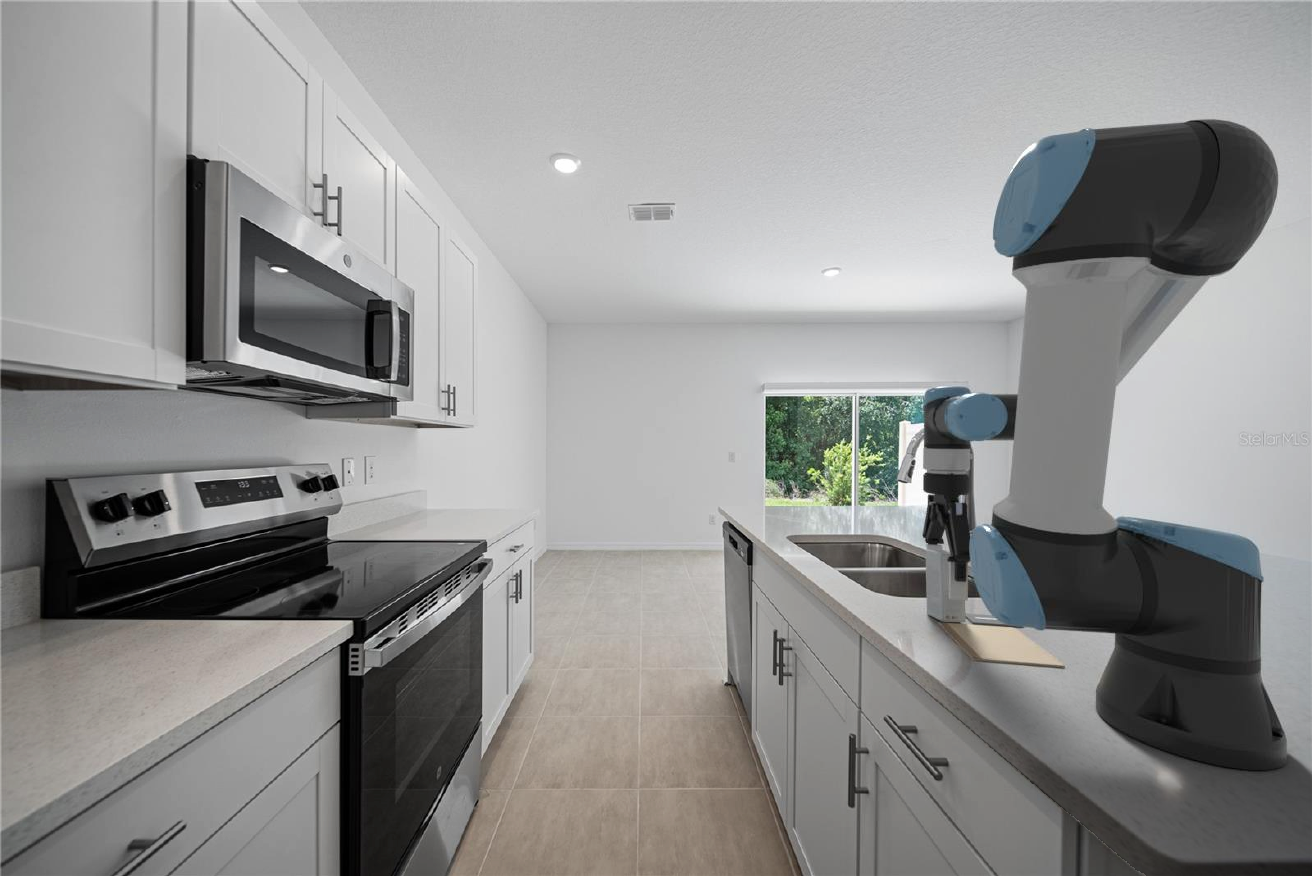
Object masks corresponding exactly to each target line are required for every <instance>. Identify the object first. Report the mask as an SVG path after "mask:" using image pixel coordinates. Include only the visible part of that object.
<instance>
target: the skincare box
mask: <svg viewBox="0 0 1312 876" xmlns="http://www.w3.org/2000/svg"><path fill="white" fill-rule="evenodd" d="M924 552H925V583H926V584H925V585H926V586H925V590H926V614H927V615H928V616H930V617H933V618H934V619H937V620H938V621H939V622H946V623H966V621H967V620H966V619H967V618H966V614H967V613H966V600H952V599H949V562H948V561H947V559H948V557H949V556H951V554H950V550H946V549H942V550H926V549H925V551H924Z"/></svg>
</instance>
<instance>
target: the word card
mask: <svg viewBox="0 0 1312 876" xmlns="http://www.w3.org/2000/svg"><path fill="white" fill-rule="evenodd" d="M966 619H967V620H968V621H969V622H970V623H971V624H972V625H984V626H998V627H1012V628H1021V627H1020V626H1011V625H1007V624H1004V623H1002V622H1000V621H999V620H997V619H996V618H995V617H994V616H993V615H992V614H980V613H966Z"/></svg>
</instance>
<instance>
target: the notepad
mask: <svg viewBox="0 0 1312 876" xmlns="http://www.w3.org/2000/svg"><path fill="white" fill-rule="evenodd" d="M938 624H939V626H940V625H941V626H942V627H941V626H940V627H941V628H942V629H943V630H944V629H945V630H944V631H945V632H946V633H947V634H948V635H949V636H950V638H952V640H953V639H954V642H955V643H956V644H957V645H958V646H959V647H960V648H961V649H962V650H963V652H964V653H965V654H966V655H967V656H968V657H969V658H970V659H971V660H972V661H980V662H981V661H983V662H990V663H1005V664H1015V665H1016V664H1017V665H1028V666H1038V667H1039V666H1040V667H1041V666H1043V667H1051V668H1066V665H1065V664H1064V663H1062V662H1060V661H1059V660H1058V659H1057V658H1055V657H1054V656H1053V655H1051V654H1050V653H1048V652H1047V651H1046V650H1045V649H1043V648H1042V647H1041V646H1039V645H1038V644H1037V643H1035V642H1034V641H1033V640H1032V639H1030V638H1029V637H1028V636H1026V635H1025V634H1024V633H1022V632H1021V631H1020V630H1019V629H1017V627H1010V626H996V625H982V624H967V623H957V622H942V621H939V622H938Z"/></svg>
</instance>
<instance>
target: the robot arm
mask: <svg viewBox="0 0 1312 876" xmlns="http://www.w3.org/2000/svg"><path fill="white" fill-rule="evenodd" d="M1278 186H1279V171H1278V165H1277V162H1276V159H1275V156H1274V153H1273V151H1272V149H1271V148H1270V146H1269V145H1268V144H1267V142H1266V141H1265V140H1264V139H1263V137H1262V136H1260V135H1259V134H1258V133H1257V132H1255V131H1254V130H1252V129H1250V128H1249V127H1246V125H1243V124H1239V123H1236V122H1233V121H1231V120H1224V119H1223V120H1222V119H1217V118H1216V119H1215V118H1211V119H1209V118H1208V119H1207V118H1206V119H1205V118H1204V119H1201V118H1200V119H1193V120H1187V121H1185V122H1172V123H1159V124H1156V123H1155V124H1145V125H1133V126H1132V125H1131V126H1119V127H1105V128H1090V127H1089V128H1088V127H1087V128H1083V129H1081V130H1079V131H1076V132H1069V133H1061V134H1054V135H1048V136H1046V137H1043V138H1040V139H1039V140H1037V141H1036V142H1034V143H1033V144H1031V145H1030V146H1029V147H1028V148H1027V149H1026V150H1025V151H1024V152H1023V153H1022V154H1021V156H1020V157H1019V158H1018V159H1017V161H1016V163H1015V164H1014V166H1013V168H1012V169H1011V171H1010V172H1009V175H1008V177H1007V179H1006V180H1005V183H1004V185H1003V188H1002V191H1001V193H1000V196H999V199H998V203H997V206H996V210H995V214H994V220H993V226H992V239H993V241H994V246H993V247H994V248H995V251H996V253H998V254H999V255H1001V256H1005V257H1006V258H1012V272H1011V275H1012V276H1013V277H1014V278H1015V279H1016V280H1017V281H1018V282H1019V283H1021V284H1022V286H1024V288H1025V290H1026V294H1025V307H1024V317H1023V318H1024V319H1023V329H1022V330H1023V331H1022V339H1021V352H1020V353H1021V354H1020V364H1019V376H1018V377H1019V378H1018V387H1017V393H1011V394H1010V393H1009V394H1008V393H992V394H990V393H985V392H971V390H970V388H969V387H966V386H957V385H956V386H953V385H952V386H937V387H931V388H930V387H929V388H928V389H927V390H925V393H924V399H923V400H924V401H923V405H922V409H923V449H922V450H923V451H922V453H923V455H922V469H924V470H925V472H924V473H923V475H922V476H923V478H922V480H923V481H922V483H923V485H922V488H923V489H922V490H923V492H924V493H927V494H928V495H927V505H926V512H925V519H924V525H923V531H922V538H923V539H924V542H925V543H926V544H925V551H926V550H943V545H945V542H944V538H943V536H944V532H945V535H946V536H945V537H946V541H947V545H948V551H950V554H951V556H949V557H948V559H947V561H948V562H949V599H952V600H965V601H968V598H969V597H968V594H969V592H968V590H969V587H968V586H969V563H970V567H971V573H972V577H973V581H974V584H975V586H976V589H977V592H978V595H979V596H980V599H981V600H982V603H983V604H984V606H985V607H986V609H987V611H988V612H989V613H990V615H993V616H994V617H995V618H996V619H997V620H999V621H1000V622H1002V623H1004V624H1007V625H1011V626H1020V627H1019V628H1031V629H1034V630H1036V631H1045V630H1052V631H1053V630H1054V631H1070V632H1084V633H1085V632H1087V633H1099V634H1100V633H1103V634H1114V648H1113V651H1112V653H1111V655H1110V658H1109V660H1108V662H1107V664H1106V666H1105V668H1104V670H1103V673H1102V674H1101V675H1102V676H1101V677H1100V678H1099V679H1100V680H1099V682H1098V684H1097V686H1096V689H1095V710H1096V712H1097V713H1098V715H1099V717H1101V718H1102V719H1103V720H1104V721H1105V722H1106V723H1108V724H1109V725H1110V726H1112V727H1114V728H1115V729H1117V730H1119V731H1120V732H1122V733H1124V734H1125V735H1127V736H1130V737H1131V738H1133V739H1136V740H1138V741H1140V742H1142V743H1145V744H1147V745H1149V746H1152V747H1155V748H1157V749H1160V750H1163V751H1165V752H1168V753H1171V754H1174V755H1177V756H1181V757H1184V758H1187V759H1191V760H1195V761H1199V762H1203V763H1206V764H1211V765H1216V766H1221V767H1228V768H1233V769H1240V770H1251V771H1253V770H1254V771H1262V770H1263V771H1265V770H1266V771H1267V770H1274V769H1278V768H1281V767H1283V766H1285V765H1286V763H1287V761H1288V741H1287V740H1288V739H1287V735H1286V733H1285V731H1284V729H1283V727H1282V724H1281V721H1280V719H1279V717H1278V714H1277V712H1276V710H1275V708H1274V705H1273V703H1272V700H1271V699H1270V696H1269V694H1268V692H1267V691H1268V690H1267V688H1266V687H1265V685H1264V682H1263V679H1262V678H1263V677H1262V630H1261V629H1262V615H1261V614H1262V610H1261V609H1262V585H1263V584H1262V583H1264V582H1265V581H1264V576H1263V575H1262V574H1263V573H1262V567H1261V566H1262V565H1261V558H1260V556H1261V555H1260V551H1259V550H1260V549H1259V548H1258V546H1257V545H1256V544H1255V543H1254V542H1253V541H1252V540H1251V539H1249V538H1247V537H1246V536H1244V535H1243V536H1242V535H1239V534H1235V533H1230V532H1225V531H1221V530H1214V529H1208V528H1203V527H1197V526H1191V525H1184V524H1178V523H1172V522H1167V521H1160V520H1153V519H1146V518H1138V517H1130V516H1122V515H1121V516H1118V517H1117V518H1114V516H1112V515H1111V514H1110V513H1109V512H1108V511H1107V510H1106V509H1105V508H1104V506H1103V502H1104V494H1105V487H1106V479H1107V478H1106V477H1107V470H1108V469H1107V467H1108V460H1109V459H1108V458H1109V449H1110V444H1111V443H1110V442H1111V434H1112V425H1113V417H1114V415H1113V414H1114V408H1115V399H1116V390H1117V387H1118V385H1119V384H1120V383H1121V382H1122V381H1123V380H1124V378H1125V377H1127V375H1128V374H1129V373H1130V372H1131V370H1132V369H1133V368H1134V367H1135V365H1137V364H1138V362H1139V361H1140V360H1141V359H1142V357H1144V355H1145V354H1146V353H1147V352H1148V350H1150V348H1151V347H1152V346H1153V345H1154V343H1155V342H1156V341H1157V340H1158V339H1159V338H1160V337H1161V335H1163V334H1164V332H1165V331H1166V330H1167V328H1168V327H1169V326H1170V325H1171V324H1172V322H1173V321H1175V319H1176V318H1177V317H1178V316H1179V315H1180V314H1181V312H1182V311H1183V310H1184V309H1185V308H1186V306H1187V305H1188V304H1189V303H1190V302H1191V301H1192V299H1193V298H1194V297H1195V296H1196V295H1197V294H1198V292H1199V291H1200V290H1201V289H1202V287H1204V286H1205V284H1206V283H1207V282H1208V281H1209V279H1210V278H1213V277H1218V276H1222V275H1224V274H1226V273H1228V272H1230V271H1231V270H1232V269H1233V268H1234V267H1235V266H1236V265H1237V264H1238V263H1239V261H1240V260H1241V259H1243V257H1244V256H1245V255H1246V254H1247V252H1249V250H1250V249H1251V248H1252V247H1253V245H1254V244H1255V243H1256V241H1257V240H1258V238H1259V237H1260V236H1261V234H1262V232H1263V231H1264V229H1265V226H1266V224H1267V223H1268V221H1269V219H1270V217H1271V215H1272V213H1273V210H1274V206H1275V203H1276V200H1277V196H1278V189H1279V187H1278ZM984 441H1013V446H1012V457H1011V469H1010V480H1009V490H1008V491H1009V492H1008V495H1007V496H1006V497H1005V498H1003V499H1001V500H1000V501H998V502H997V503H996V504H994V505H993V507H992V514H991V515H992V516H991V524H989V523H983V524H981V525H979V524H978V525H977V526H975V527H974V529H973V530H972V533H971V531H970V525H969V519H968V518H969V517H968V504H967V502H960V499H959V497H960V496H967V495H969V494H970V493H971V476H970V474H968V473H967V472H968V471H970V470H971V460H972V459H974V455H973V453H971V442H984Z"/></svg>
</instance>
